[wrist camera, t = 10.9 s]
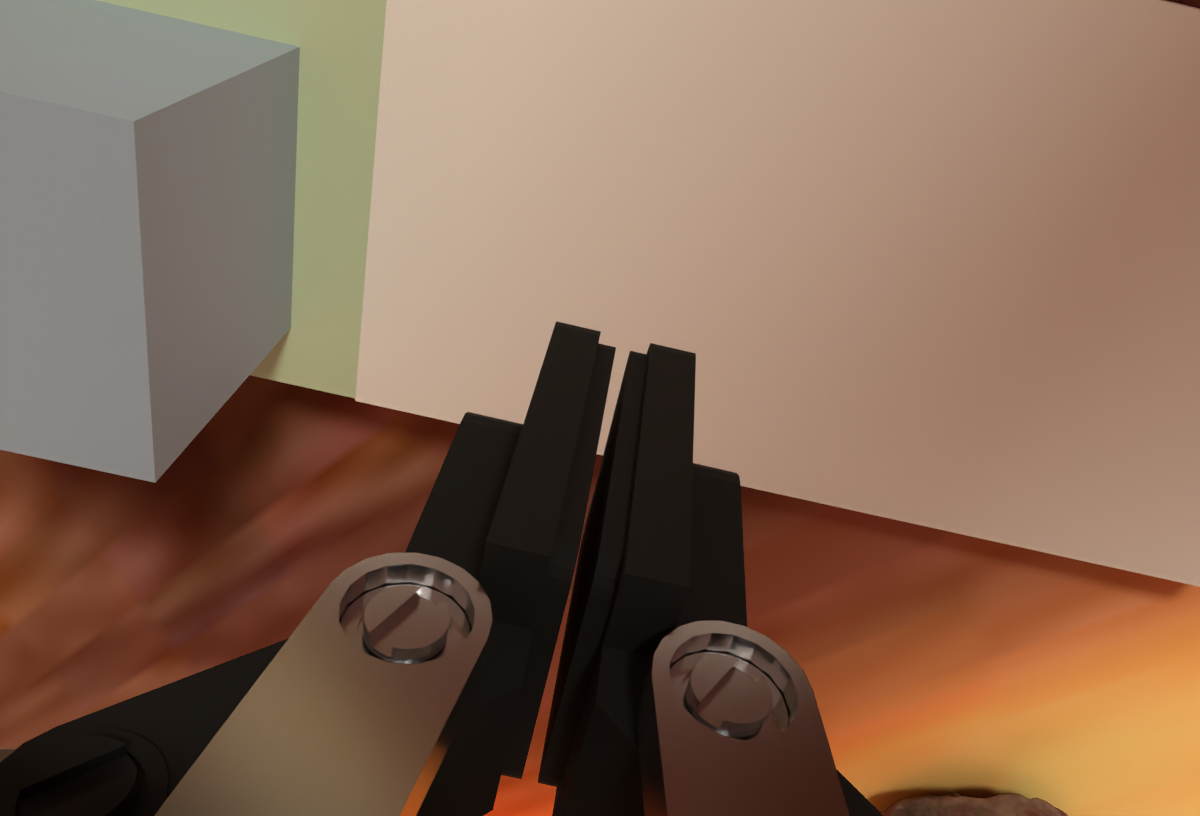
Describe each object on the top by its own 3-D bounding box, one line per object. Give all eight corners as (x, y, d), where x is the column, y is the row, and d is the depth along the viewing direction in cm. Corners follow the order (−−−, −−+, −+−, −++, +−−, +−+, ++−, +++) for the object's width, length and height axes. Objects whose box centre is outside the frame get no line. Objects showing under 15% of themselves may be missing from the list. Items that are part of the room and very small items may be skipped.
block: (-18, -26, 17) (-325, 17, 12) (299, 46, 17) (133, 120, 12) (21, 268, 20) (-209, 404, 15) (291, 327, 20) (155, 482, 15)
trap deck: (-86, -1053, 12) (-212, -1202, 11) (1984, -500, 13) (2177, -555, 12) (59, 289, 22) (7, 324, 21) (1225, 548, 23) (1268, 601, 22)
